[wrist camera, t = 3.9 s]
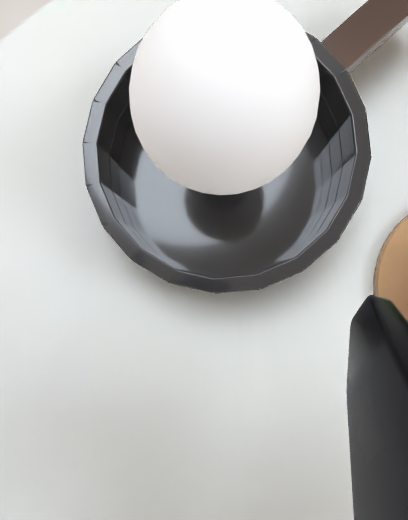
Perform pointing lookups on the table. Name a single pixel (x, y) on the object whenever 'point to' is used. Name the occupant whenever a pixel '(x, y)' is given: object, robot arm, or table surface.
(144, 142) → the lightbulb
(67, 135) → the table surface
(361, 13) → the pan handle
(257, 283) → the pan
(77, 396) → the table surface
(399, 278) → the cork coaster
